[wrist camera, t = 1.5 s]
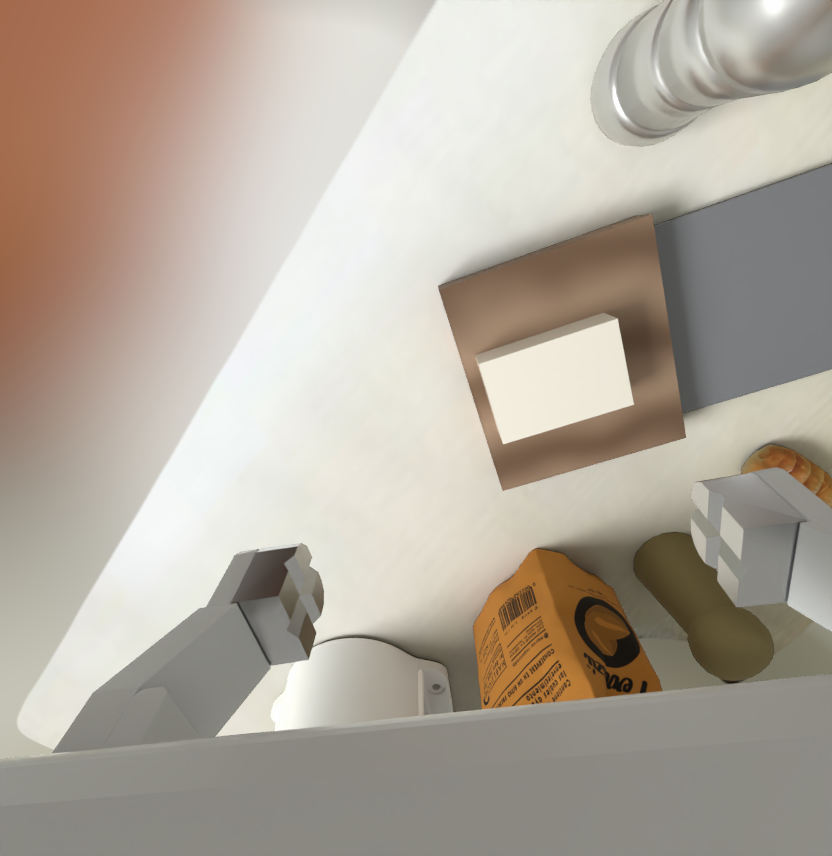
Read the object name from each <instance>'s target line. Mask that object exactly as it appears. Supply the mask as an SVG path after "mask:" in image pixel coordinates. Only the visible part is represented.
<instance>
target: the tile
mask: <svg viewBox="0 0 832 856" xmlns="http://www.w3.org/2000/svg"><path fill="white" fill-rule="evenodd" d="M475 357H476V360H477V364H478V367H479V370H480V373H481V377H482V380H483V383H484V387H485V390H486V393H487V396H488V400H489V403H490V406H491V410H492V413H493V416H494V419H495V423H496V426H497V429H498V432H499V435H500V437H501V440H502V443H503V444H506V443H509V442H513V441H516V440H519V439H523V438H526V437H529V436H532V435H536V434H539V433H542V432H546V431H549V430H552V429H556V428H559V427H562V426H565V425H569V424H572V423H575V422H579V421H582V420H585V419H589V418H592V417H595V416H598V415H602V414H605V413H608V412H612V411H615V410H618V409H621V408H625V407H628V406H631V405H634V402H633V397H632V392H631V386H630V381H629V376H628V371H627V365H626V360H625V355H624V349H623V344H622V339H621V334H620V328H619V323H618V318H615V317H613V316H611V315H608V314H606V313H601V314H598V315H595V316H592V317H589V318H586V319H583V320H580V321H577V322H574V323H571V324H568V325H565V326H562V327H559V328H556V329H553V330H550V331H547V332H544V333H541V334H538V335H534V336H531V337H528V338H525V339H522V340H519V341H516V342H513V343H510V344H507V345H504V346H501V347H498V348H495V349H492V350H489V351H486V352H483V353H480V354H477V355H475Z"/></svg>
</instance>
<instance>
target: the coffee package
mask: <svg viewBox="0 0 832 856" xmlns="http://www.w3.org/2000/svg"><path fill="white" fill-rule="evenodd" d="M473 631H474V639H475V649H476V655H477V663H478V677H479V686H480V696H481V707H482V709H492V708H502V707H511V706H521V705H531V704H541V703H550V702H560V701H570V700H580V699H589V698H599V697H609V696H619V695H629V694H638V693H648V692H658V691H662V688H661V685H660V681H659V678H658V676H657V675H656V673H655V671H654V669H653V668H652V666H651V664H650V662H649V660H648V658H647V656H646V654H645V652H644V650H643V648H642V646H641V644H640V642H639V640H638V638H637V635H636V633H635V632H634V630H633V628H632V627H631V625H630V623H629V622H628V620H627V617H626V615H625V613H624V611H623V608H622V606H621V604H620V602H619V600H618V598H617V596H616V594H615V591H614V589H613V588H612V587H610V586H608V585H606V584H605V583H604V582H603V581H602V580H601V579H600V578H599V577H597V576H596V575H592V574H589V573H587V572H586V571H584V570H582V569H581V568H580V567H578V566H576V565H574V564H573V563H572V562H571V561H570V560H569V559H568V558H567V557H566V555H565V554H563V553H558V552H552V551H549V550H543V549H534V550H533V551H531V552H530V553H529V554H528V556H527V557H526V559H525V560H524V561H523V563H522V564H521V565H520V567H519V569H518V570H517V572H516V573H515V574H514V575H513V577H512V578H510V579H509V580H507V581H506V582H504V583H502V584H501V585H499V586H498V587H496V588H495V589H494V590H493V591H492V593H491V594H490V595H489V597H488V599H487V602H486V604H485V606H484V608H483V610H482V612H481V613H480V615H479V616H478V618H477V619H476V621H475V623H474V626H473Z"/></svg>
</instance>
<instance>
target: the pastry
mask: <svg viewBox="0 0 832 856" xmlns="http://www.w3.org/2000/svg"><path fill="white" fill-rule="evenodd" d="M775 467H777V468H781V469H784V470H785V471H786V472H788V473H789V474H790V475H791V476H793V477H794V478H795V479H796V480H798V481H799V482H800V483H801V484H802V485H804V486H805V487H806V488H807V489H809V490H810V491H811V492H812V493H814V494H815V495H816V496H817V497H819V498H820V499H821V500H822V501H823V502H825V503H826V504H827V505H828V506H830V507H831V508H832V479H831V477H830V475H829V474H828V473H827V472H825V471H823V469H821V468H820V467H818V466H816V465H815V464H813V463H812V462H811V461H809V460H807V459H806V458H804V457H803V456H802V455H800V454H798V453H796V452H795V451H793V450H791V449H788V448H785V447H781V446H777V445H773V444H771V445H766V446H765V447H763V448H761V449H760V450H758V451H756V452H755V453H753V454H752V455H751V456H750V457H749V458H748V460H747V461H746V462H745V463H744V465H743V466H742V468H741V474H748V473H749V472H754V471H759V470H764V469H770V468H775Z"/></svg>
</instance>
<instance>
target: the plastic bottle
mask: <svg viewBox="0 0 832 856" xmlns="http://www.w3.org/2000/svg"><path fill="white" fill-rule="evenodd" d="M830 73H832V0H665V1H664V2H663V3H661V4H659V5H657V6H654V7H652V8H650V9H649V10H647V11H645V12H644V13H642V14H641V15H639V16H637V17H636V18H634V19H633V20H631V21H630V22H628V23H627V24H626V25H625V26H624V27H623V28H622V29H621V30H620V31H619V32H618V33H617V34H616V35H615V37H614V38H613V39H612V40H611V42H610V43H609V45H608V47H607V48H606V50H605V52H604V54H603V56H602V58H601V60H600V62H599V64H598V66H597V69H596V72H595V74H594V77H593V82H592V87H591V107H592V113H593V116H594V119H595V122H596V123H597V125H598V127H599V128H600V130H601V131H602V132H603V133H604V134H605V135H606V136H607V137H608V138H609V139H611V140H612V141H614V142H616V143H619V144H622V145H628V146H641V147H642V146H649V145H654V144H657V143H660V142H663V141H665V140H667V139H669V138H670V137H672V136H674V135H675V134H677V133H678V132H680V131H681V130H683V129H684V128H685V127H687V126H688V125H689V124H690V123H691V122H693V121H694V120H695V119H696V118H697V117H698V116H700V115H701V114H703V113H705V112H706V111H708V110H710V109H711V108H713V107H715V106H718V105H721V104H724V103H727V102H730V101H733V100H736V99H740V98H747V97H753V96H759V95H765V94H771V93H778V92H784V91H787V90H790V89H794V88H798V87H801V86H804V85H807V84H810V83H812V82H815V81H818V80H820V79H821V78H823V77H825V76H827V75H829V74H830Z"/></svg>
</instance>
